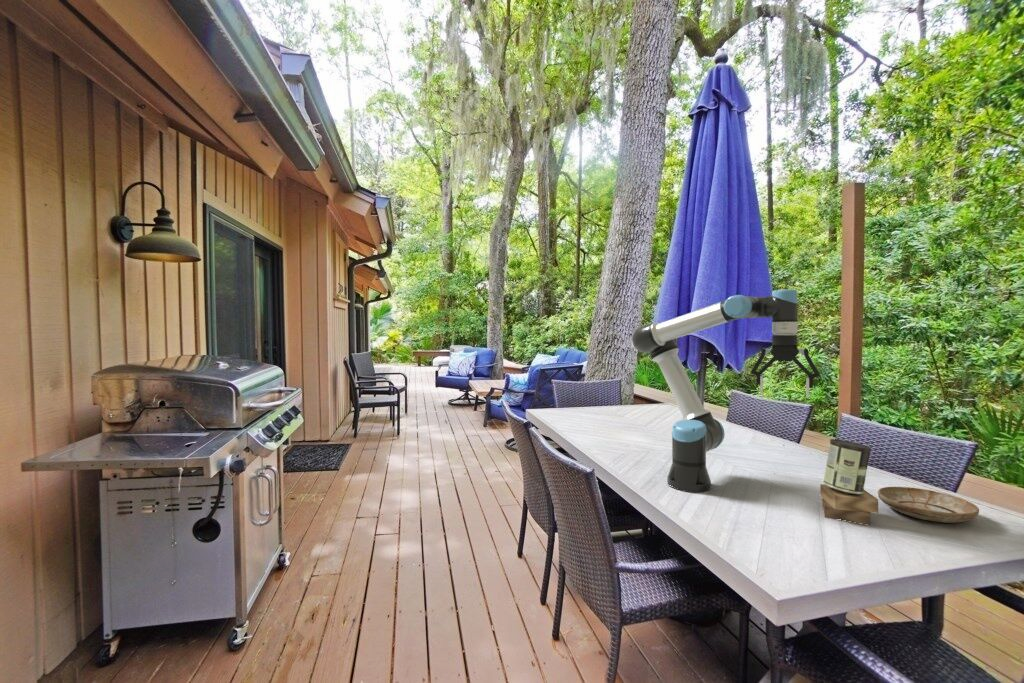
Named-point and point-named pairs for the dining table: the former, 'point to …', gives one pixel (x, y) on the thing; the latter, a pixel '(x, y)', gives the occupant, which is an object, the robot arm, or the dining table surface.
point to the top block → (849, 500)
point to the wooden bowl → (928, 504)
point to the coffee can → (846, 466)
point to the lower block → (845, 514)
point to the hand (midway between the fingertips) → (784, 395)
